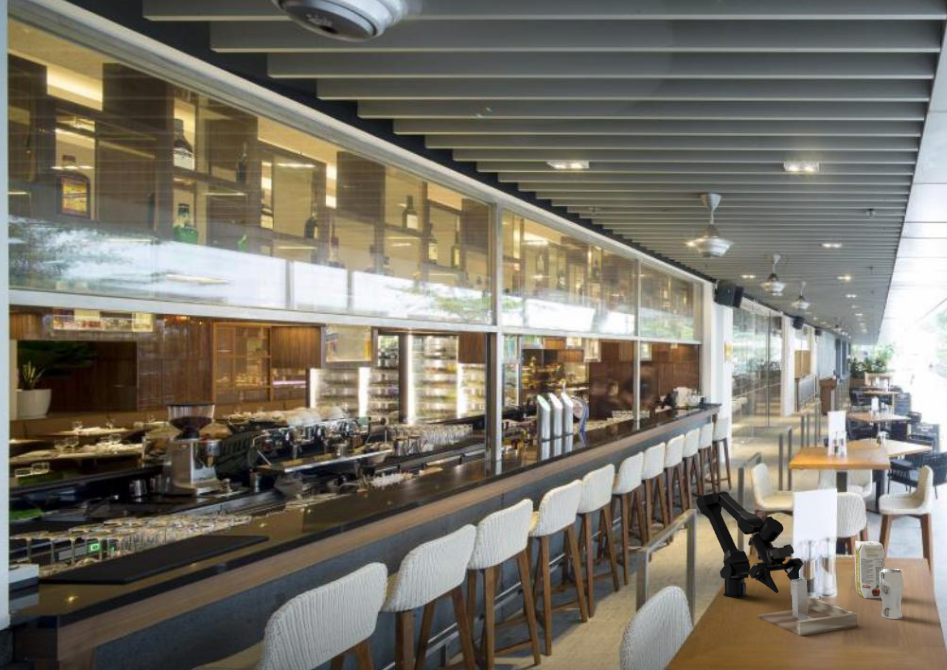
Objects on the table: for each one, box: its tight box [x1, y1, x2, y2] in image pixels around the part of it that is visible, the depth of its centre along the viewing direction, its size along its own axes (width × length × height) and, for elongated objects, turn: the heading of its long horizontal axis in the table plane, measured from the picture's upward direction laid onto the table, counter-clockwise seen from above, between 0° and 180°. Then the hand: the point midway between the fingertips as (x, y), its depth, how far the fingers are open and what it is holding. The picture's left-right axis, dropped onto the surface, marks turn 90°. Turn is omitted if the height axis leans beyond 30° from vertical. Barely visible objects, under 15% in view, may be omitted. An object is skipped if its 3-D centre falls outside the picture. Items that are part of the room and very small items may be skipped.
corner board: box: [756, 596, 858, 637], centre depth 266 cm, size 20×22×4 cm
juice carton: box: [854, 540, 886, 599], centre depth 292 cm, size 8×9×19 cm
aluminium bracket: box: [791, 577, 814, 621], centre depth 263 cm, size 6×4×13 cm, turn 20°
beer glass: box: [879, 567, 904, 620], centre depth 269 cm, size 7×7×15 cm
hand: (788, 590), depth 270 cm, fingers open, 9 cm apart
